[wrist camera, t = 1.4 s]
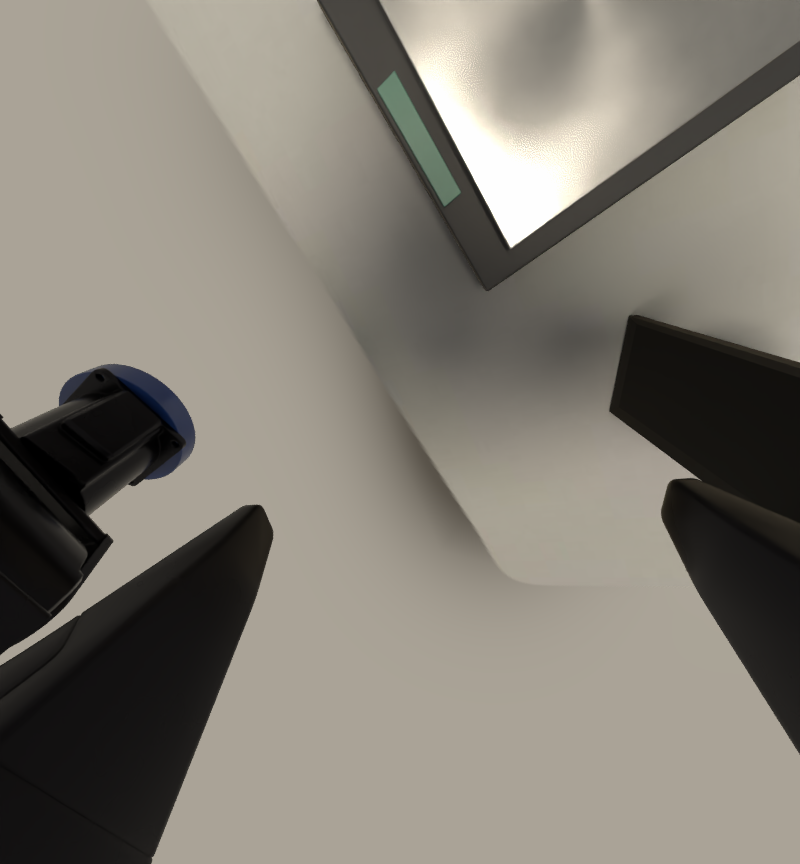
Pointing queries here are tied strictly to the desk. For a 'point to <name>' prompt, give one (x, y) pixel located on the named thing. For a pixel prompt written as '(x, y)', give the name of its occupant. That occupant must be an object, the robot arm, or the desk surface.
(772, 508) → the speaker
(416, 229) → the desk surface
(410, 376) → the desk surface
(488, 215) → the scale
